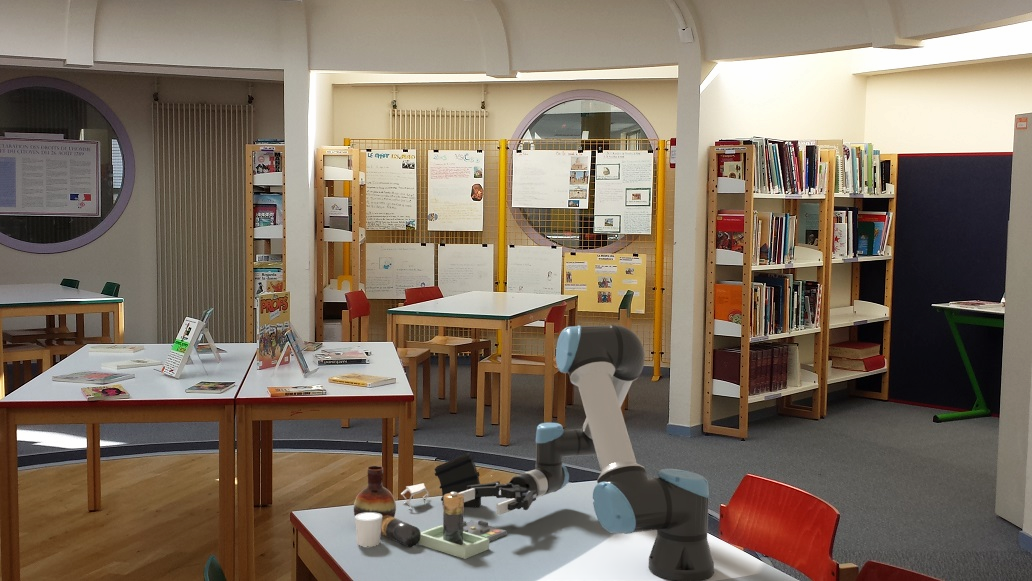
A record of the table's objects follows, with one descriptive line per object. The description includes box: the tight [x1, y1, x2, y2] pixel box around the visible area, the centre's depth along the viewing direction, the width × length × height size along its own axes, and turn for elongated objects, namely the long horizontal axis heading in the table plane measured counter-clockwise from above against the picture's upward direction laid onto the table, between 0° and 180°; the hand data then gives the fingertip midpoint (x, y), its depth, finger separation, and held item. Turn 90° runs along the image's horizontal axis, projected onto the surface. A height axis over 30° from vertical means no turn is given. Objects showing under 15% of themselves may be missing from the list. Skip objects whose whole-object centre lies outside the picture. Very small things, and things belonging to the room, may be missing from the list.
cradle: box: [463, 520, 507, 542], centre depth 240 cm, size 12×9×2 cm
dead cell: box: [381, 515, 421, 548], centre depth 234 cm, size 13×5×5 cm, turn 42°
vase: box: [353, 465, 397, 518], centre depth 246 cm, size 11×11×15 cm
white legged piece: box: [400, 482, 430, 511], centre depth 264 cm, size 12×8×5 cm
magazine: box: [434, 452, 482, 509], centre depth 264 cm, size 4×13×15 cm, turn 83°
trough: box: [416, 524, 490, 560], centre depth 231 cm, size 16×9×3 cm, turn 52°
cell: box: [442, 492, 465, 545], centre depth 230 cm, size 5×5×13 cm
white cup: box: [354, 512, 383, 547], centre depth 232 cm, size 7×7×7 cm
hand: (477, 504), depth 237 cm, fingers open, 13 cm apart
